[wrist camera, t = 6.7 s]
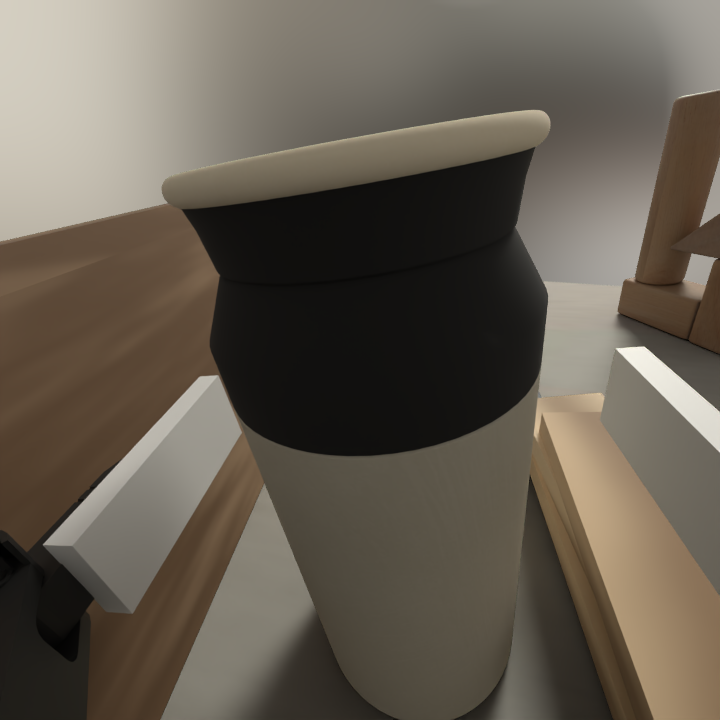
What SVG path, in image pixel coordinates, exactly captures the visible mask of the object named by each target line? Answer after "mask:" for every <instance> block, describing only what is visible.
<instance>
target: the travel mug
mask: <svg viewBox="0 0 720 720" xmlns="http://www.w3.org/2000/svg"><path fill="white" fill-rule="evenodd" d="M549 130H550V119H549V117H548V115H547V114H546V113H544V112H543V111H539V110H526V111H517V112H508V113H501V114H495V115H487V116H480V117H474V118H467V119H460V120H454V121H448V122H442V123H436V124H430V125H424V126H418V127H412V128H406V129H400V130H394V131H389V132H383V133H377V134H372V135H366V136H361V137H355V138H350V139H344V140H338V141H333V142H327V143H323V144H317V145H312V146H306V147H301V148H296V149H291V150H286V151H281V152H276V153H271V154H266V155H260V156H255V157H250V158H245V159H240V160H236V161H231V162H226V163H221V164H217V165H213V166H208V167H204V168H199V169H195V170H191V171H187V172H183V173H179V174H176V175H173V176H171V177H169V178H167V179H166V180H165V181H164V182H163V185H162V194H163V196H164V199H165V200H166V201H167V202H168V203H169V204H170V205H171V206H173V207H176V208H179V209H181V210H182V211H183V213H184V214H185V216H186V217H187V219H188V220H189V222H190V223H191V225H192V226H193V227H194V229H195V230H196V232H197V234H198V236H199V238H200V240H201V242H202V244H203V246H204V248H205V250H206V252H207V253H208V255H209V257H210V259H211V261H212V263H213V265H214V267H215V269H216V271H217V272H218V274H219V275H220V277H219V283H218V289H217V296H216V302H215V308H214V315H213V321H212V327H211V334H210V350H211V353H212V355H213V358H214V360H215V363H216V365H217V368H218V370H219V373H220V375H221V377H222V380H223V382H224V385H225V387H226V390H227V392H228V395H229V397H230V400H231V402H232V404H233V407H234V409H235V412H236V414H237V417H238V419H239V422H240V424H241V427H242V429H243V431H244V434H245V436H246V439H247V441H248V444H249V446H250V449H251V451H252V454H253V456H254V458H255V461H256V463H257V466H258V468H259V471H260V473H261V476H262V478H263V481H264V483H265V485H266V488H267V490H268V493H269V495H270V498H271V500H272V503H273V505H274V508H275V510H276V512H277V515H278V517H279V520H280V522H281V525H282V527H283V530H284V532H285V535H286V537H287V539H288V542H289V544H290V547H291V549H292V552H293V554H294V557H295V559H296V562H297V564H298V566H299V569H300V571H301V574H302V576H303V579H304V581H305V584H306V586H307V589H308V591H309V593H310V596H311V598H312V601H313V603H314V606H315V608H316V611H317V613H318V616H319V618H320V620H321V623H322V625H323V628H324V630H325V633H326V635H327V638H328V640H329V643H330V645H331V647H332V650H333V652H334V655H335V657H336V660H337V662H338V664H339V666H340V668H341V670H342V672H343V673H344V675H345V677H346V678H347V680H348V681H349V683H350V684H351V685H352V687H353V688H354V689H355V690H356V691H357V692H358V693H359V694H360V695H361V696H362V697H363V698H364V699H365V700H366V701H367V702H368V703H370V704H371V705H372V706H374V707H375V708H377V709H378V710H380V711H382V712H383V713H385V714H387V715H389V716H392V717H394V718H397V719H399V720H452V719H455V718H458V717H460V716H462V715H464V714H466V713H468V712H469V711H471V710H472V709H474V708H475V707H477V706H478V705H479V704H480V703H481V702H483V701H484V700H485V699H486V697H487V696H488V695H489V694H490V693H491V692H492V690H493V689H494V688H495V686H496V685H497V683H498V682H499V680H500V678H501V676H502V674H503V672H504V670H505V667H506V665H507V662H508V658H509V655H510V650H511V644H512V636H513V626H514V617H515V608H516V598H517V589H518V579H519V570H520V560H521V551H522V541H523V532H524V522H525V513H526V504H527V494H528V485H529V475H530V466H531V456H532V447H533V437H534V428H535V419H536V409H537V400H538V390H539V381H540V371H541V362H542V352H543V343H544V334H545V324H546V315H547V305H548V293H547V290H546V287H545V285H544V283H543V281H542V279H541V277H540V275H539V273H538V271H537V269H536V267H535V265H534V263H533V261H532V259H531V257H530V255H529V253H528V252H527V249H526V247H525V245H524V243H523V241H522V239H521V237H520V235H519V234H518V231H517V230H516V228H515V226H516V224H517V220H518V214H519V210H520V205H521V199H522V194H523V189H524V184H525V179H526V174H527V171H528V168H529V165H530V162H531V159H532V156H533V152H534V149H535V147H536V146H537V145H539V144H540V143H542V141H544V140H545V138H546V137H547V135H548V133H549Z"/></svg>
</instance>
